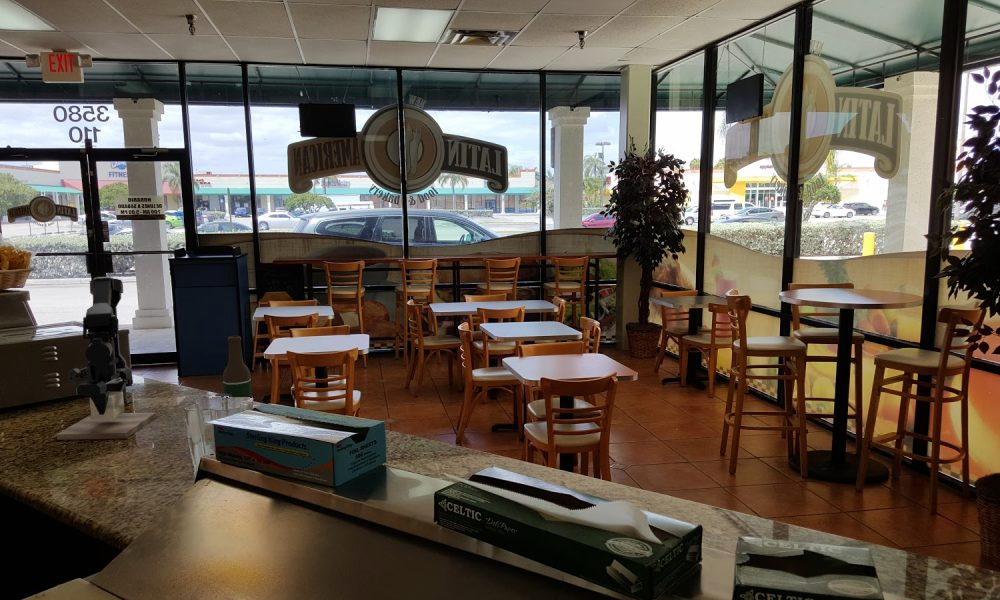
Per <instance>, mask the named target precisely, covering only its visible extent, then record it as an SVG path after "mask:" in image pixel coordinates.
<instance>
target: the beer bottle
mask: <svg viewBox="0 0 1000 600" xmlns="http://www.w3.org/2000/svg"><path fill="white" fill-rule="evenodd" d="M227 341H228V360H227V361H228V363H227V365H226V366H225V368H224V370H223V374H222V388H223V389H222V391H223V393H224V394H229V395H231V396H232V397H250V398H252V399H253V392H252V388H253V387H252V378H251V377H252V376H251V371H250V370H249V369H250V368H249V367H248V366H247V365H246V364H245V361H244V359H243V358H244V357H243V350H242V349H243V348H242V336H239V335H230V336H228V337H227Z"/></svg>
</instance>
